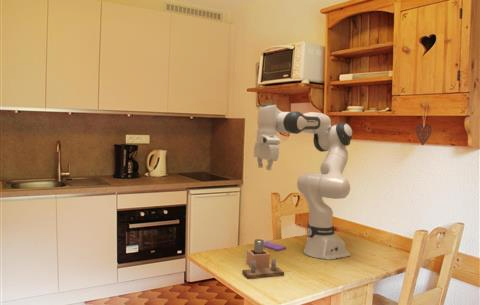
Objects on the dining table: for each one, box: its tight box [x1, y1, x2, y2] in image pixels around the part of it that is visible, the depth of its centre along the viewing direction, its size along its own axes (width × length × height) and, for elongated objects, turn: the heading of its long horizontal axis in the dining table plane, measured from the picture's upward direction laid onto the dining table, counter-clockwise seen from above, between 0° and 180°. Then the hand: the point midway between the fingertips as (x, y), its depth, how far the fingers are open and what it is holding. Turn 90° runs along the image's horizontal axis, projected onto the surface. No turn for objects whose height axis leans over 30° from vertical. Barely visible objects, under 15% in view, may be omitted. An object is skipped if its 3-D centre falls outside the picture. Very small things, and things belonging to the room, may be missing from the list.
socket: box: [245, 248, 271, 269], centre depth 175 cm, size 8×8×6 cm
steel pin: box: [253, 238, 265, 255], centre depth 175 cm, size 4×4×10 cm
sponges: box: [263, 240, 287, 252], centre depth 203 cm, size 7×13×2 cm, turn 45°
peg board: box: [241, 258, 285, 280], centre depth 164 cm, size 16×6×6 cm, turn 111°
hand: (264, 168), depth 185 cm, fingers open, 8 cm apart
